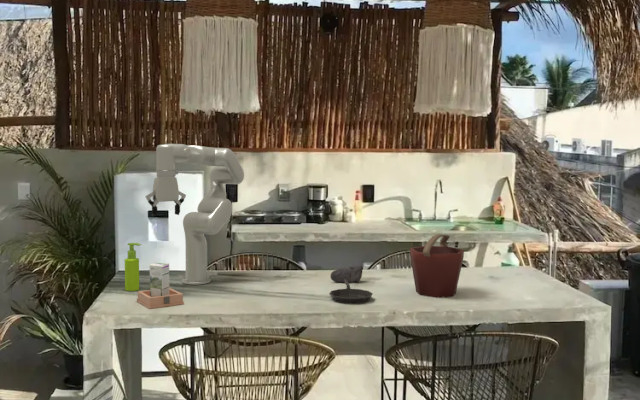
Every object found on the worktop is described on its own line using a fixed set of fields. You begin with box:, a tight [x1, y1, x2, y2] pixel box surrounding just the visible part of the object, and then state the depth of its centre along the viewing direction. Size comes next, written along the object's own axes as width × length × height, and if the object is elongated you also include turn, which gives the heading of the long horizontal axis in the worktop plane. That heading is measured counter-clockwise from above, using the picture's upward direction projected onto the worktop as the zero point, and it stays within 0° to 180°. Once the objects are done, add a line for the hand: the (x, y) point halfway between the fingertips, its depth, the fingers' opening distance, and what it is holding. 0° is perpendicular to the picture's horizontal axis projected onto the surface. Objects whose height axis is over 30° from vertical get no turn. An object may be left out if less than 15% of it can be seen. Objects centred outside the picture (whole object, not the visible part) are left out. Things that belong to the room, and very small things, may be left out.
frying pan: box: [328, 279, 374, 305], centre depth 287 cm, size 18×32×4 cm, turn 4°
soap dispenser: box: [124, 242, 142, 292], centre depth 293 cm, size 6×7×20 cm
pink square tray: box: [136, 287, 185, 309], centre depth 271 cm, size 14×14×4 cm
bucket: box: [409, 233, 465, 298], centre depth 292 cm, size 24×22×25 cm
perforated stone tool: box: [330, 266, 363, 284], centre depth 313 cm, size 15×5×7 cm, turn 95°
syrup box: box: [149, 262, 170, 297], centre depth 270 cm, size 6×6×14 cm
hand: (166, 215), depth 288 cm, fingers open, 9 cm apart
